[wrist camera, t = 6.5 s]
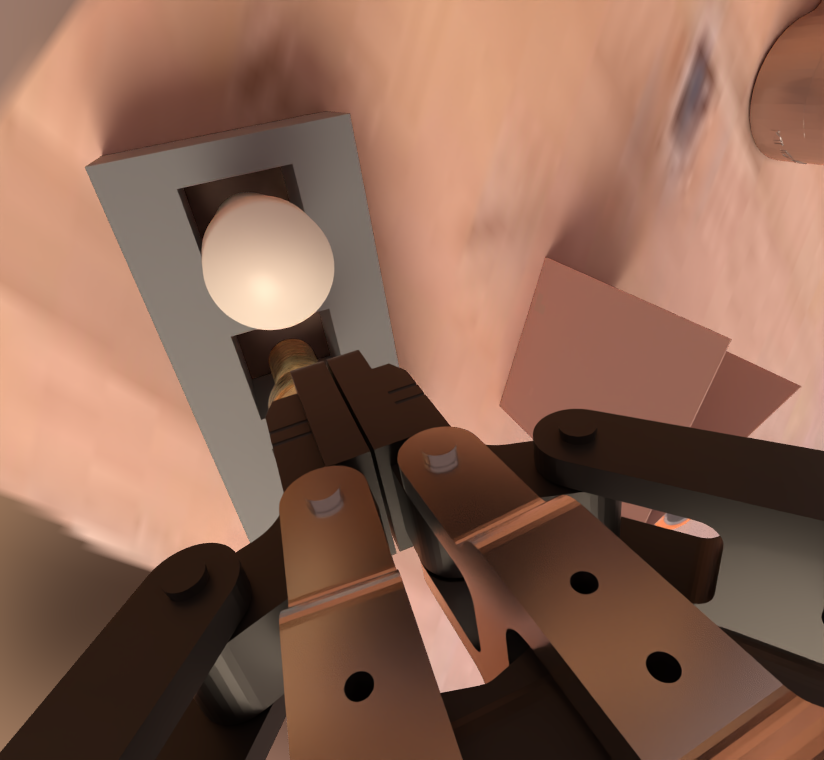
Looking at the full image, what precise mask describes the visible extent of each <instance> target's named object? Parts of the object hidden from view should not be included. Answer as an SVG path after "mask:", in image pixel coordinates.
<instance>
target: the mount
mask: <svg viewBox="0 0 824 760" xmlns="http://www.w3.org/2000/svg"><path fill="white" fill-rule="evenodd" d="M276 167H281V171H282V174H283V178H284V182H285V186H286V190H287V193H288V197H289V201H290V203H292V204H294V205H296V206H297V207H298V208H300V209H301V210H302V211H303V212H305V213H306V214H307V215H308V216H309V217H310V218H311V219H312V220H313V221H314V222H315V223H316V224H317V225H318V226H319V228H320V229H321V230H322V231H323V233H324V235H325V236H326V238H327V240H328V242H329V244H330V246H331V250H332V253H333V258H334V278H333V282H332V286H331V289H330V292H329V294H328V296H327V298H326V300H325V301H324V302H323V304H322V305H321V306H320V308H319V309H318V310H317V311H316V312H319V314H320V318H321V321H322V325H323V329H324V333H325V336H326V340H327V344H328V348H329V352H330V356H327V357H324V358H321V359H317V360H318V362H321V361H324V363H325V365H326V360H327V359H330V358H333V357H336V356H340V355H343V354H346V353H349V352H352V351H355V350H359V351H360V352H361V354H362V355H363V356H364V358H365V359H366V361H367V362H368V364H369V365H370V367H371V368H372V369H373V368H376V367H379V366H382V365H385V364H388V363H389V364H391V365H394V366H396V367H399V364H398V359H397V354H396V349H395V343H394V338H393V333H392V328H391V323H390V318H389V313H388V307H387V302H386V297H385V292H384V287H383V282H382V277H381V271H380V266H379V261H378V256H377V251H376V246H375V240H374V235H373V230H372V225H371V220H370V215H369V210H368V204H367V199H366V194H365V189H364V184H363V179H362V174H361V168H360V163H359V158H358V153H357V148H356V143H355V137H354V132H353V127H352V122H351V117H350V113H339V112H328V111H325V112H320V113H315V114H310V115H305V116H300V117H295V118H290V119H285V120H279V121H274V122H269V123H264V124H259V125H254V126H249V127H244V128H239V129H234V130H229V131H224V132H219V133H214V134H209V135H204V136H199V137H194V138H189V139H184V140H179V141H174V142H169V143H164V144H159V145H154V146H149V147H144V148H139V149H134V150H129V151H124V152H119V153H114V154H109V155H104V156H101V157H99V158H98V159H96V160H95V161H93V162H92V163H90V164H89V165H87V166H86V167H85V169H86V171H87V173H88V175H89V178H90V180H91V182H92V185H93V187H94V189H95V191H96V194H97V196H98V198H99V200H100V203H101V205H102V207H103V209H104V212H105V214H106V216H107V219H108V221H109V223H110V225H111V228H112V230H113V232H114V234H115V237H116V239H117V241H118V244H119V246H120V248H121V250H122V253H123V255H124V257H125V259H126V262H127V264H128V266H129V269H130V271H131V273H132V275H133V278H134V280H135V282H136V284H137V287H138V289H139V291H140V294H141V296H142V298H143V300H144V303H145V305H146V307H147V309H148V312H149V314H150V316H151V319H152V321H153V323H154V325H155V328H156V330H157V332H158V334H159V337H160V339H161V341H162V344H163V346H164V348H165V350H166V353H167V355H168V357H169V359H170V362H171V364H172V366H173V369H174V371H175V373H176V375H177V378H178V380H179V382H180V384H181V387H182V389H183V391H184V394H185V396H186V398H187V400H188V403H189V405H190V407H191V409H192V412H193V414H194V416H195V419H196V421H197V423H198V425H199V428H200V430H201V432H202V434H203V437H204V439H205V441H206V444H207V446H208V448H209V450H210V453H211V455H212V457H213V459H214V462H215V464H216V466H217V469H218V471H219V473H220V475H221V478H222V480H223V482H224V484H225V487H226V489H227V491H228V494H229V496H230V498H231V500H232V503H233V505H234V507H235V509H236V512H237V514H238V516H239V519H240V521H241V523H242V525H243V528H244V530H245V532H246V534H247V537H248V539H249V541H250V543H251V542H253V541H254V540H256V539H257V538H258V537H260V536H261V535H262V534H263V533H265V532H266V531H267V530H268V529H269V528H270V527H271V526H272V525H273V523H274V522H275V521H276V519H277V518H278V517H279V515H280V514H279V503H280V500H281V497H282V495H283V493H284V492H283V488H282V484H281V480H280V476H279V472H278V468H277V463H276V459H275V455H274V451H273V446H272V443H271V439H270V434H269V430H268V426H267V422H266V418H265V417H266V415H267V412H268V410H269V407H268V401H269V396H270V393H271V390H272V388H273V387H274V385H275V382H274V379H273V375H272V373H271V374H268V375H265V376H262V377H258V378H255V379H252V378H251V375H250V373H249V370H248V367H247V364H246V361H245V359H244V356H243V353H242V350H241V348H240V345H239V342H238V339H237V336H236V335H238V334H242V333H246V332H249V331H253V330H256V328H252V327H248V326H246V325H243V324H241V323H239V322H237V321H235V320H233V319H232V318H230V317H229V316H228V315H226V314H225V313H224V312H223V311H222V310H221V309H220V308H219V307H218V306H217V304H216V303H215V302H214V301H213V299H212V297H211V296H210V294H209V292H208V289H207V287H206V284H205V281H204V276H203V269H202V255H201V249H202V239H201V236H200V233H199V230H198V228H197V225H196V222H195V219H194V217H193V214H192V211H191V208H190V205H189V203H188V200H187V197H186V194H185V191H184V189H183V188H184V187H189V186H193V185H198V184H203V183H207V182H212V181H216V180H221V179H225V178H230V177H235V176H239V175H244V174H248V173H253V172H257V171H262V170H267V169H271V168H276ZM316 312H315V313H316ZM326 367H327V366H326Z"/></svg>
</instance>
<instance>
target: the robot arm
mask: <svg viewBox="0 0 824 760" xmlns="http://www.w3.org/2000/svg"><path fill="white" fill-rule="evenodd" d="M750 124H751V132H752V135H753V138H754V141H755V144H756V145H757V147H758V148H759V150H760V151H761V152H762V153H763V154H764V155H766V156H767V157H768V158H771V159H775V160H780V161H789V162H795V163H801V164H807V163H808V164H818V165H824V0H822V2H821V3H820V5H819V6H818V7H817V8H816V9H815V10H814V11H812V12H810V13H808V14H806V15H805V16H803V17H801V18H799V19H798V20H797V21H795V22H794V23H793V24H792V25H791V26H789V27H788V28H787V29H786V30H785V31H784V33H783V34H782V35H781V36H780V37H779V38H778V40H777V41H776V42H775V44H774V45H773V47H772V48H771V50H770V51H769V53H768V55H767V56H766V59H765V61H764V63H763V65H762V67H761V69H760V71H759V74H758V77H757V80H756V83H755V86H754V89H753V95H752V100H751V107H750ZM326 366H327V367H326ZM290 374H291V377H292V380H293V383H294V386H295V389H296V392H297V394H293V395H290V396H287V397H284V398H281V399H278V400H275V401H272V403H271V406H270V408H269V410H268V412H267V415H266V417H265V418H266V422H267V426H268V430H269V434H270V439H271V443H272V446H273V451H274V455H275V459H276V463H277V468H278V472H279V476H280V480H281V484H282V488H283V492H284V493H283V495H282V497H281V500H280V503H279V514H280V515H279V517H278V518H277V519H276V521H275V522H274V523H273V525H272V526H271V527H270V528H269V529H268V530H267V531H266V532H265V533H263V534H262V535H261V536H260V537H258V538H257V539H256V540H254V541H253V542H251V543H250V544H248V545H247V546H245V547H244V548H242V549H241V550H239V551H237V552H236V553H235V551H234V550H232V549H231V548H230V547H228V546H226V545H223V544H219V543H203V544H198V545H194V546H191V547H188V548H186V549H183V550H181V551H179V552H177V553H175V554H174V555H172V556H170V557H169V558H167V559H166V560H164V561H163V562H162V563H161V564H159V565H158V566H157V567H156V568H155V569H154V570H153V571H152V572H151V573H150V574H149V575H148V576H147V578H146V579H145V580H144V581H143V582H142V584H141V585H140V586H139V587H138V588H137V589H136V591H135V592H134V593H133V594H132V595H131V597H130V598H129V599H128V600H127V601H126V603H125V604H124V605H123V606H122V607H121V609H120V610H119V611H118V612H117V613H116V615H115V616H114V617H113V618H112V619H111V621H110V622H109V623H108V624H107V625H106V627H105V628H104V629H103V630H102V631H101V633H100V634H99V635H98V636H97V637H96V639H95V640H94V641H93V642H92V643H91V644H90V646H89V647H88V648H87V649H86V650H85V652H84V653H83V654H82V655H81V656H80V658H79V659H78V660H77V661H76V662H75V664H74V665H73V666H72V667H71V668H70V670H69V671H68V672H67V673H66V675H65V676H64V677H63V678H62V679H61V680H60V682H59V683H58V684H57V685H56V686H55V688H54V689H53V690H52V691H51V692H50V694H49V695H48V696H47V697H46V698H45V700H44V701H43V702H42V703H41V704H40V706H39V707H38V708H37V709H36V710H35V712H34V713H33V714H32V715H31V716H30V717H29V719H28V720H27V721H26V722H25V724H24V725H23V726H22V727H21V728H20V729H19V731H18V732H17V733H16V734H15V736H14V737H13V738H12V739H11V740H10V741H9V743H8V744H7V745H6V746H5V747H4V749H3V750H2V751H1V752H0V760H266V757H267V755H268V753H269V751H270V749H271V746H272V745H273V743H274V740H275V738H276V736H277V734H278V732H279V730H280V728H281V726H282V723H283V721H284V719H285V717H286V719H287V732H288V744H289V756H290V760H824V451H821V450H815V449H809V448H804V447H798V446H792V445H787V444H781V443H775V442H770V441H764V440H758V439H753V438H747V437H741V436H736V435H730V434H725V433H719V432H713V431H708V430H702V429H696V428H691V427H685V426H679V425H674V424H668V423H662V422H657V421H651V420H645V419H640V418H634V417H628V416H623V415H617V414H611V413H606V412H600V411H594V410H588V409H566V410H560V411H557V412H554V413H551V414H549V415H547V416H545V417H544V418H542V419H541V420H540V421H539V422H538V423H537V424H536V426H535V428H534V430H533V441H529V442H522V443H514V444H507V445H485V444H484V443H483V442H482V441H481V440H480V439H479V438H478V437H477V436H476V435H474V434H473V433H471V432H469V431H468V430H465V429H462V428H457V427H451V426H450V425H449V424H448V422H447V421H446V420H445V419H444V417H443V416H442V415H441V414H440V412H439V411H438V410H437V409H436V407H435V406H434V405H433V404H432V402H431V401H430V400H429V399H428V397H427V396H426V395H424V393H423V391H422V390H421V389H420V387H419V386H418V385H416V382H415V381H414V380H413V379H412V377H411V376H410V375H409V374H408V372H407V371H406V370H403V369H401V368H399V367H396V366H394V365H391V364H389V363H388V364H385V365H382V366H379V367H376V368H373V369H372V368H371V367H370V365H369V364H368V362H367V361H366V359H365V358H364V356H363V355H362V354H361V352H360V351H359V350H355V351H352V352H349V353H346V354H343V355H340V356H336V357H333V358H330V359H327V360H326V365H325V363H324V361H321V362H318V363H315V364H311V365H308V366H305V367H302V368H299V369H295V370H292V371H290ZM622 502H625V503H629V504H633V505H637V506H641V507H645V508H649V509H653V510H657V511H660V512H664V513H668V514H672V515H676V516H680V517H684V518H688V519H692V520H696V521H699V522H702V523H704V524H706V525H708V526H710V527H712V528H713V529H714V530H715V531H716V532H717V533H718V534H719V535H720V536H718V537H716V538H700V537H696V536H692V535H689V534H685V533H681V532H677V531H674V530H670V529H666V528H663V527H659V526H655V525H652V524H648V523H644V522H640V521H637V520H633V519H629V518H626V517H622V516H621V507H622ZM392 536H393V538H394V540H395V542H396V544H397V546H398V549H399V551H403V550H405V549H408V548H410V547H412V546H414V548H415V550H416V552H417V554H418V556H419V558H420V561H421V566H422V570H423V574H424V579H425V581H426V583H427V585H428V587H429V588H430V590H431V592H432V593H433V595H434V597H435V598H436V600H437V602H438V603H439V605H440V607H441V608H442V610H443V611H444V613H445V615H446V616H447V618H448V620H449V621H450V623H451V625H452V626H453V628H454V630H455V631H456V633H457V635H458V636H459V638H460V639H461V641H462V643H463V644H464V646H465V648H466V649H467V651H468V653H469V654H470V656H471V658H472V659H473V661H474V662H475V664H476V666H477V668H478V670H479V672H480V674H481V676H482V678H483V680H484V683H485V684H483V685H480V686H475V687H470V688H465V689H459V690H454V691H449V692H443V693H440V691H439V688H438V685H437V682H436V679H435V676H434V673H433V670H432V667H431V664H430V661H429V658H428V655H427V652H426V649H425V646H424V643H423V640H422V637H421V634H420V631H419V628H418V625H417V622H416V620H415V617H414V614H413V611H412V608H411V605H410V602H409V599H408V596H407V593H406V590H405V587H404V584H403V581H402V578H401V576H400V573H399V571H398V570H396V567H395V564H394V561H393V558H392V555H394V554H396V549H395V545H394V542H393V538H392Z"/></svg>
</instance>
